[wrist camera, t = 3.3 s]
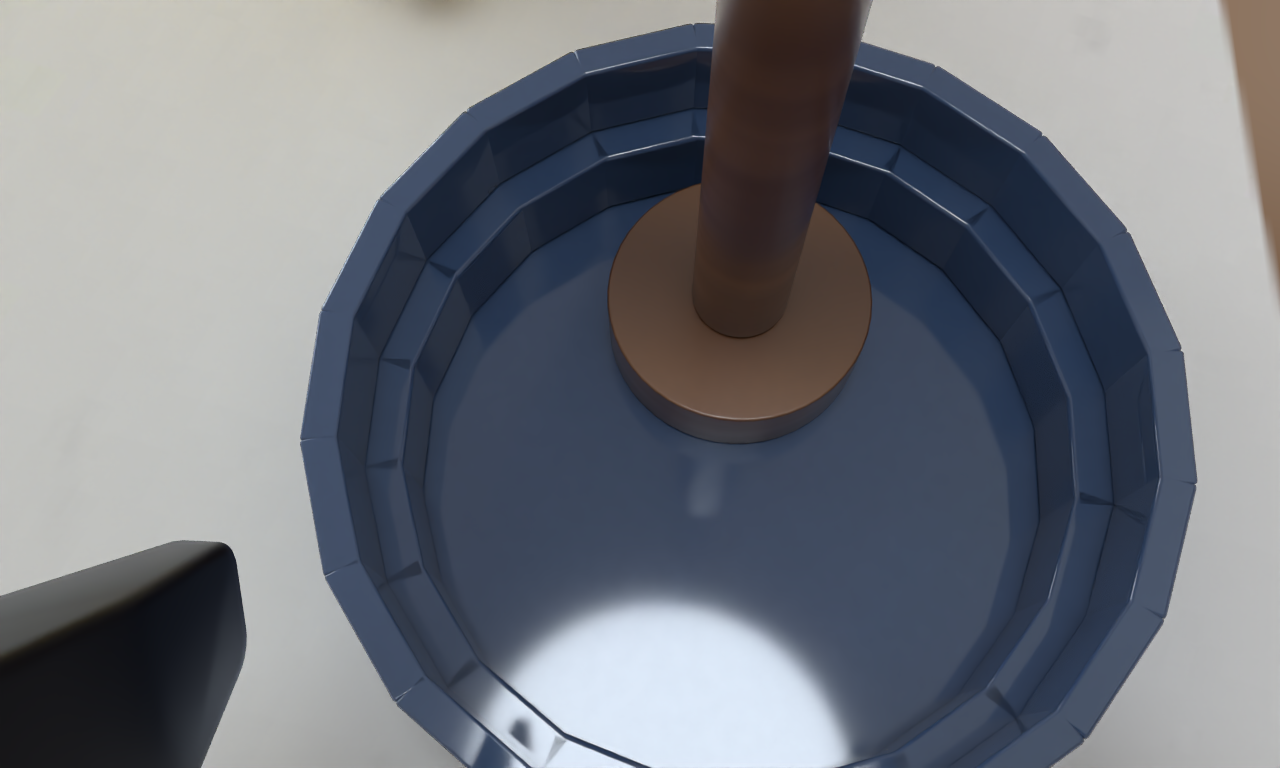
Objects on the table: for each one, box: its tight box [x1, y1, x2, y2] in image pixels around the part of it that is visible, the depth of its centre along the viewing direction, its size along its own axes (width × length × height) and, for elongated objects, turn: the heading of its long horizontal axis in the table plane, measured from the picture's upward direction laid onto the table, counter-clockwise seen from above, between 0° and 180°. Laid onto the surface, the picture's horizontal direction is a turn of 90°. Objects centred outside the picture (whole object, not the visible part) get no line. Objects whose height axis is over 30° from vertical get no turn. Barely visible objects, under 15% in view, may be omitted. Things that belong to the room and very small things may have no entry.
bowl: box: [300, 23, 1197, 768], centre depth 21 cm, size 14×14×4 cm
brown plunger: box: [607, 0, 873, 444], centre depth 17 cm, size 5×5×14 cm
